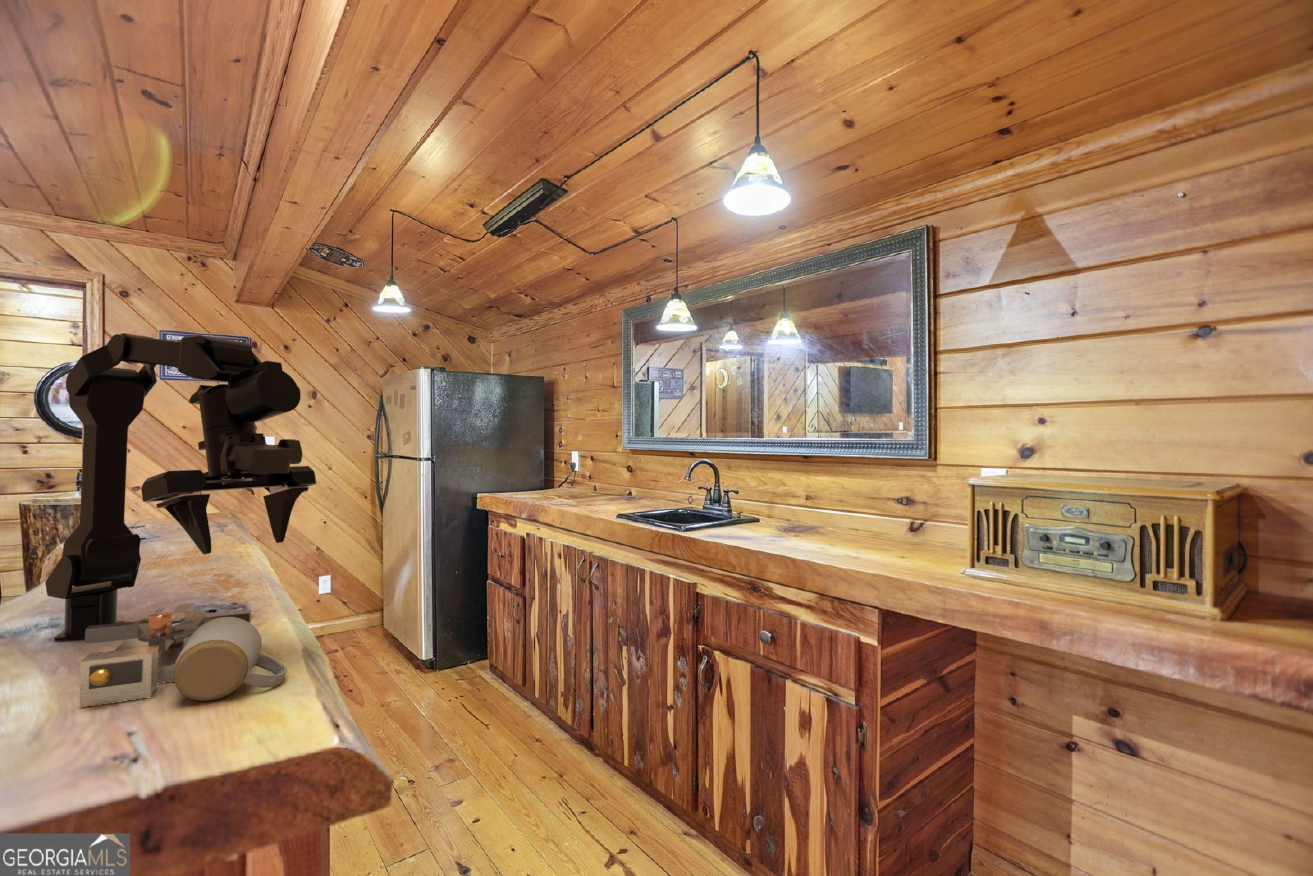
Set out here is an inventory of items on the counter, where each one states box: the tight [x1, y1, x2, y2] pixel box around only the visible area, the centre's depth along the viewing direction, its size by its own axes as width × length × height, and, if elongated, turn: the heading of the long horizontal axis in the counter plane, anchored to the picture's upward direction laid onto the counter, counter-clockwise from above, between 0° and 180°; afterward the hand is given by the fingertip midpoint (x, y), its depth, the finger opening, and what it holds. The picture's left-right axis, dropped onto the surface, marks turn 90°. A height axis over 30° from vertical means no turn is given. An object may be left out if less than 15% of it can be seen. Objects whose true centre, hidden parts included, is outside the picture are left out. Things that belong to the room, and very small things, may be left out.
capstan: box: [84, 602, 252, 653], centre depth 79 cm, size 17×17×4 cm
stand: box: [78, 637, 190, 709], centre depth 77 cm, size 24×12×5 cm, turn 29°
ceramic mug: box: [173, 617, 288, 702], centre depth 71 cm, size 11×8×8 cm
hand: (245, 547), depth 78 cm, fingers open, 9 cm apart
